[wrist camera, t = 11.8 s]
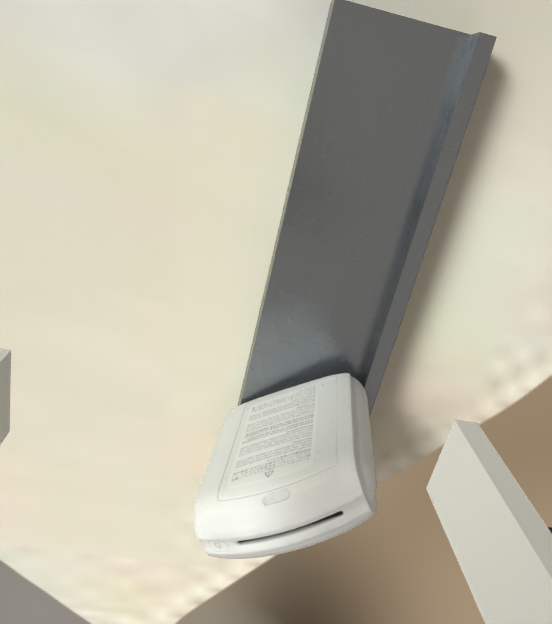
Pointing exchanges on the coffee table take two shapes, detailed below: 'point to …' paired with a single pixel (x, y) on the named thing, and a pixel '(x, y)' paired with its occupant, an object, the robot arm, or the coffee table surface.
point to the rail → (362, 195)
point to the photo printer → (289, 471)
